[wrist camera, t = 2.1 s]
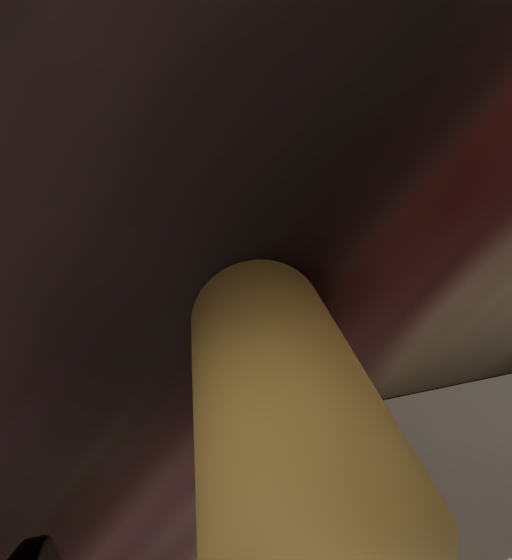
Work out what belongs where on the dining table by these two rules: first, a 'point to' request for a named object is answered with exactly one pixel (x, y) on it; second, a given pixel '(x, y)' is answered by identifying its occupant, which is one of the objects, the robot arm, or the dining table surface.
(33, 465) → the dining table surface
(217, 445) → the peg
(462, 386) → the socket box
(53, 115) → the dining table surface
